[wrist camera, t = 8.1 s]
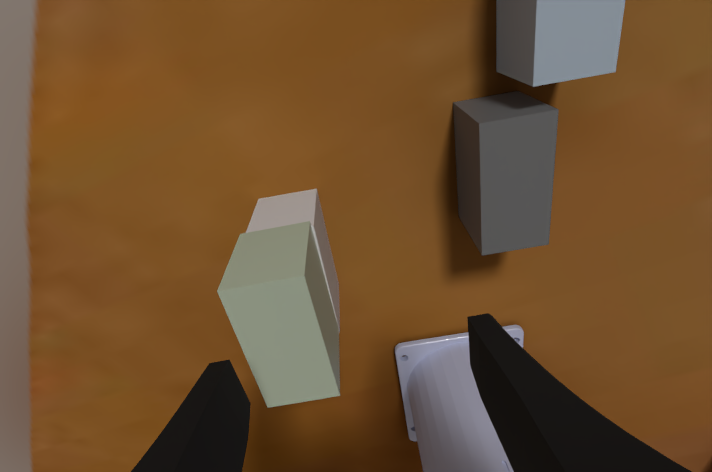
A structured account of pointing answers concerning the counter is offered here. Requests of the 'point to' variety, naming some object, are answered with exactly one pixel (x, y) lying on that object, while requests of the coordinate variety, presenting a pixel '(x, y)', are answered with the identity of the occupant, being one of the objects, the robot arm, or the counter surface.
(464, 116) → the charcoal brick
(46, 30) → the counter surface
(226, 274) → the sage brick
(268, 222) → the grey brick
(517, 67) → the blue brick
